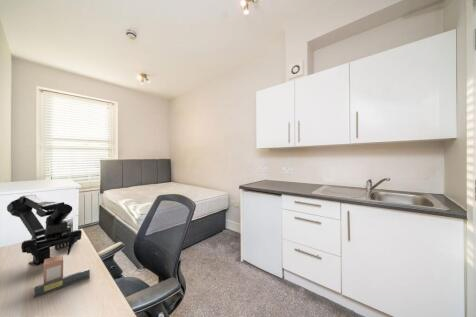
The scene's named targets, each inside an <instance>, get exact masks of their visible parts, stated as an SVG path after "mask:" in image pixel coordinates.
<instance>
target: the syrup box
mask: <svg viewBox="0 0 476 317" xmlns="http://www.w3.org/2000/svg"><path fill="white" fill-rule="evenodd" d="M64 222H67V227H68V226H69V227H71V231H74V218H73V217H71V216H70V217H69V216H67V217H66V218H65V219H64V220H63V223H64Z"/></svg>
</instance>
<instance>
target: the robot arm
mask: <svg viewBox="0 0 476 317" xmlns="http://www.w3.org/2000/svg"><path fill="white" fill-rule="evenodd" d="M33 209H34V210H36V211H35V214H34V212H33ZM6 210H7V212H8V213H9V214H11V216H12V217H13V216H14V217H17V218H19V219H20V220H21V222H22V223H23V225H24V226H25V228H26V229H27V231H28V232H29V234H30V235H31V239H27V240H24V241H23V242H21V245H20V246H21V247H20V249H21V252H22V253H23V254H24V253H25V254H30V255H31V256H32V261H29V262H28V264H29V265H32V266H40V265H42V264H44V259H48V258H51V257H52V256H51V248H52V247H55V244H56V242H57V241H62V240H66V239H69V245H68V247H67V252H66V254H67V255H66V256H69V255H70V253H71V252H72V251H71V250H72V248H73V246H74V244H75V243H78V241H80V240H81V239H82V235H83V234H82V230H81V229H78V230H73V231H71V232H70V235H65V236H63V230H66V229H67V222H64V223H63V220H64V219H65V218H66V217H69V215H70V214H71V213H72V211H73V206H72V205H70V204H67V203H65V202H64V201H63V202H56V201H47V200H44V199H42V198H40V197H38V196H37V195H36V194H24V195H22V196H20V197H19V198H16V199H15V200H12V201H11V202H10V203H9V204H8V205H7V206H6ZM36 215H37V216H38V217H40V218H44V217H46V219H45V227H44V226H43V225H42V223H41V222H40V221H39V219H38V217H37V216H36Z"/></svg>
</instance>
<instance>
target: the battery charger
mask: <svg viewBox="0 0 476 317" xmlns="http://www.w3.org/2000/svg"><path fill="white" fill-rule="evenodd" d="M70 232H71V227H69V226H68V227H67V229H66V230H63V236H65V235H70ZM68 245H69V239H66V240H62V241H57V242H56V244H55V246H54V249H55V250H59V249H65V248H68Z"/></svg>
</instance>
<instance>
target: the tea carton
mask: <svg viewBox="0 0 476 317" xmlns="http://www.w3.org/2000/svg"><path fill="white" fill-rule="evenodd" d="M50 257H51V258H48V259H44V263H43V284H45V283H48V282H51V281H54V280H57V279H60V278H63V277H64V254H59V255H55V256H50Z"/></svg>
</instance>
